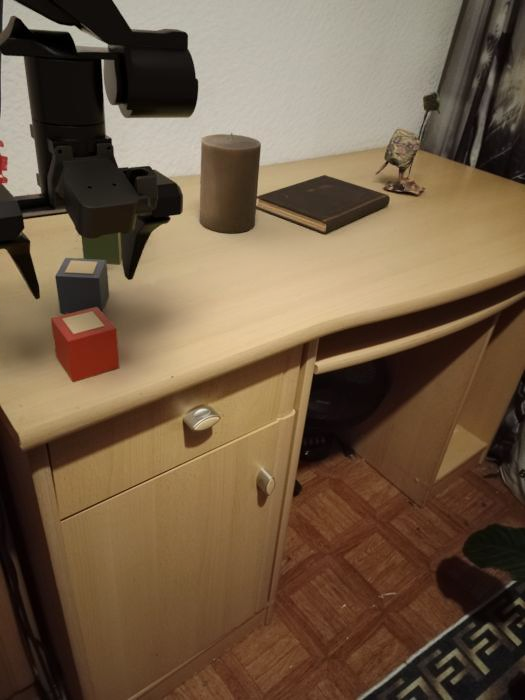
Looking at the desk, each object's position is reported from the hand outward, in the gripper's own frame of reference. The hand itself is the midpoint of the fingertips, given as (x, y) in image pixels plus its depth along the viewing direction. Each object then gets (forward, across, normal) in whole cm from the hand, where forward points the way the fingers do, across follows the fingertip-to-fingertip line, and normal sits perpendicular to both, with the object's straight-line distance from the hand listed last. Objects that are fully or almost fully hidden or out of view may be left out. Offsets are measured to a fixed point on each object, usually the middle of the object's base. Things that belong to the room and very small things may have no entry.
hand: (84, 287), depth 53 cm
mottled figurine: (+8, +82, +29) cm, 87 cm away
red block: (+9, 0, 0) cm, 9 cm away
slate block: (+9, +4, +12) cm, 15 cm away
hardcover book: (+9, +57, +27) cm, 64 cm away
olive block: (+9, +12, +24) cm, 28 cm away
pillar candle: (+9, +35, +28) cm, 46 cm away
